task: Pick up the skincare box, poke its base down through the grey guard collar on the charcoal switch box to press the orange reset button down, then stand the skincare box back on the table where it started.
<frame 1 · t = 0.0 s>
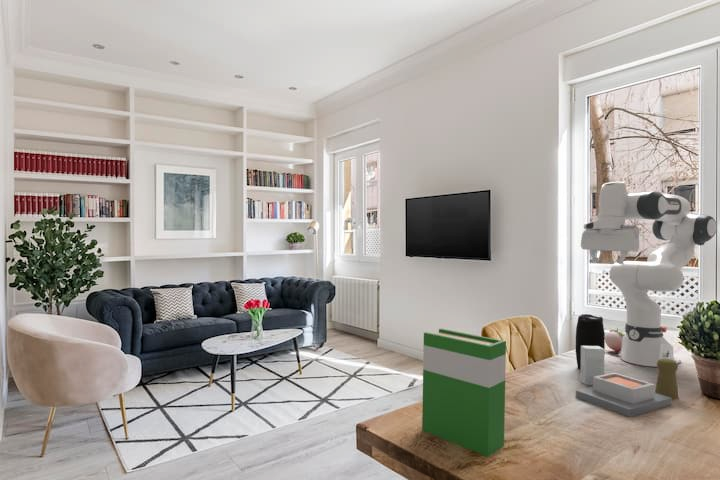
hand: (607, 263, 160), 39 cm above the table, tool pointing down, fingers open, 8 cm apart
cork: (666, 395, 134), on the table
switch box: (622, 400, 129), on the table
skincare box: (591, 383, 145), on the table
decorative fruit: (616, 352, 184), on the table
portable speaker: (589, 370, 159), on the table
hardback book: (461, 438, 104), on the table
reset button: (623, 385, 129), point 4 cm above the table, slide at 0.0 cm
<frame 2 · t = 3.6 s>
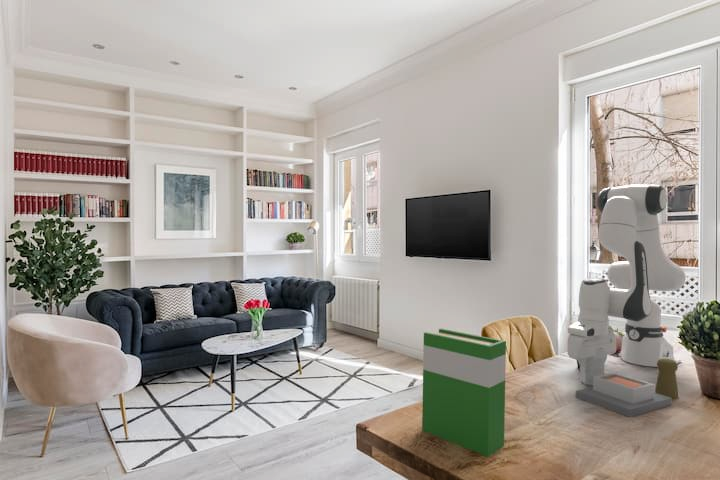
hand: (592, 369, 144), 5 cm above the table, tool pointing down, fingers closed on skincare box, 7 cm apart
skincare box: (591, 383, 145), on the table, touching gripper
everything else where it was.
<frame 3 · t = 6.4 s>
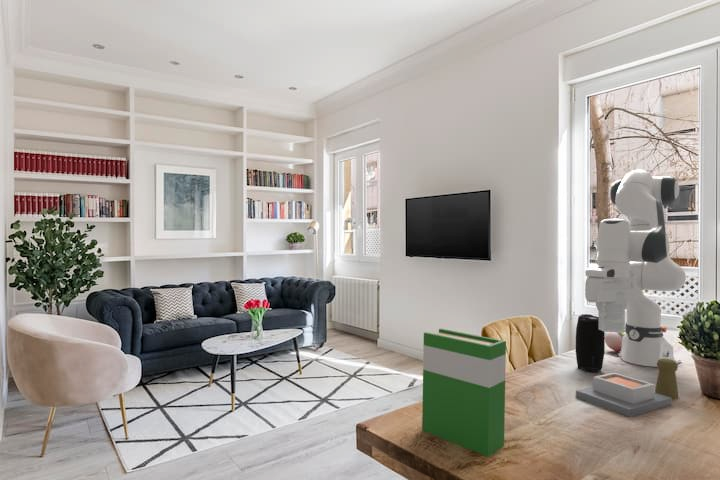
hand: (611, 316, 134), 24 cm above the table, tool pointing down, fingers closed on skincare box, 7 cm apart
skincare box: (610, 331, 134), point 19 cm above the table, touching gripper
everything else where it was.
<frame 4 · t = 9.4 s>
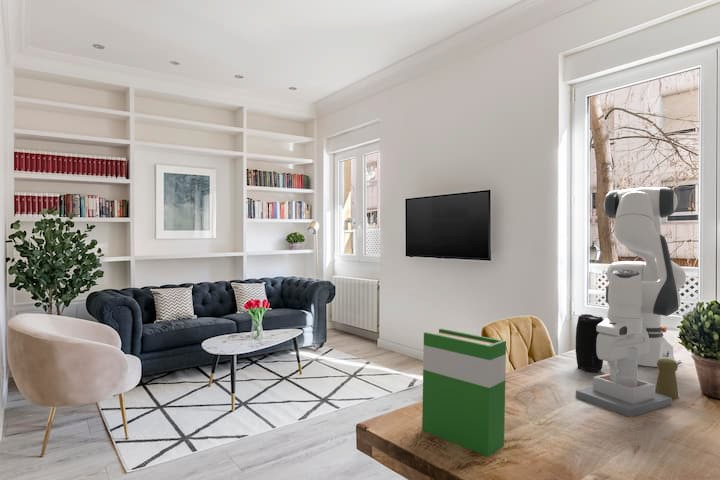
hand: (623, 372, 129), 8 cm above the table, tool pointing down, fingers closed on skincare box, 7 cm apart
skincare box: (622, 387, 129), point 4 cm above the table, touching gripper, reset button
reset button: (623, 390, 129), point 3 cm above the table, slide at 1.4 cm, touching skincare box
everything else where it was.
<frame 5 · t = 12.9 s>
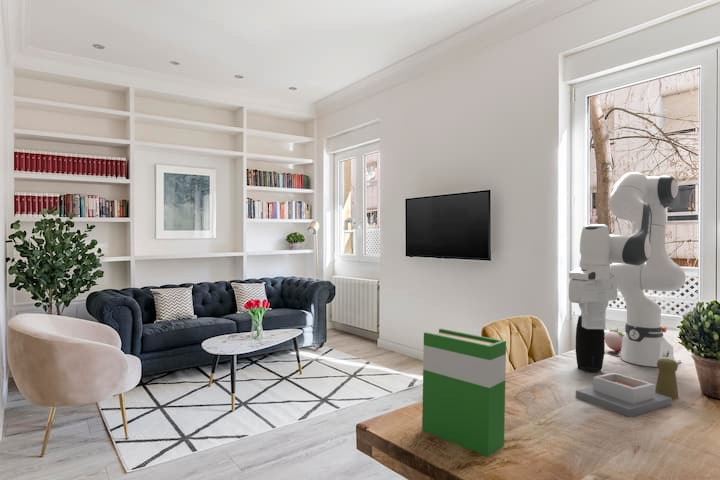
hand: (593, 315, 144), 22 cm above the table, tool pointing down, fingers closed on skincare box, 7 cm apart
skincare box: (592, 328, 144), point 18 cm above the table, touching gripper
reset button: (623, 390, 129), point 3 cm above the table, slide at 1.4 cm
everything else where it was.
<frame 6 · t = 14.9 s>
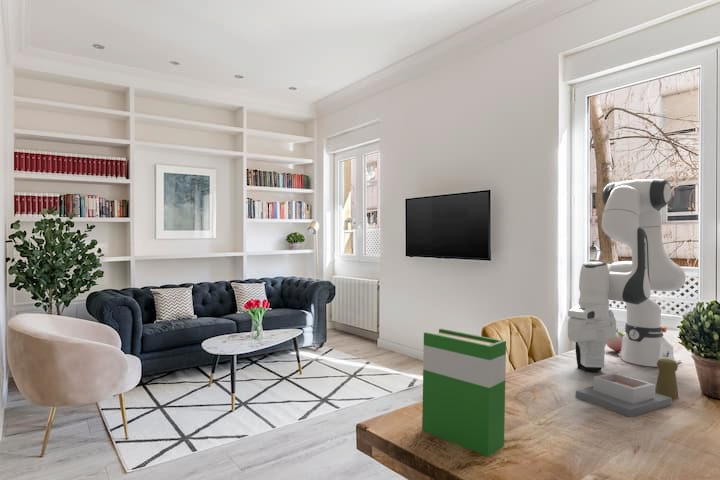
hand: (592, 353, 144), 10 cm above the table, tool pointing down, fingers closed on skincare box, 7 cm apart
skincare box: (591, 366, 144), point 6 cm above the table, touching gripper
everything else where it was.
when the fingers open (5 cm above the table, at t = 16.5 s): skincare box drops 1 cm, on the table.
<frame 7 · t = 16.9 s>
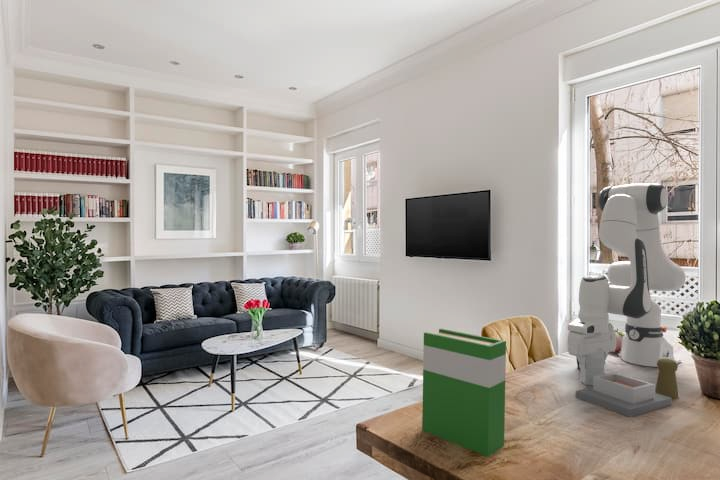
hand: (592, 366, 144), 5 cm above the table, tool pointing down, fingers open, 8 cm apart
skincare box: (591, 383, 145), on the table
everything else where it was.
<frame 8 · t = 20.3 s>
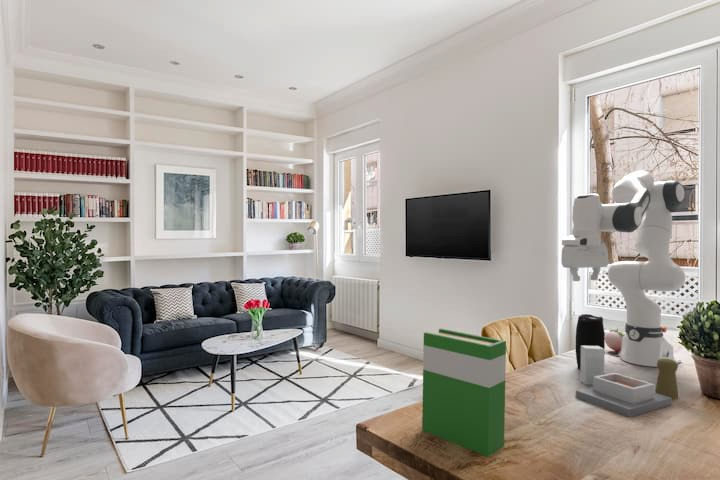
hand: (585, 280, 151), 33 cm above the table, tool pointing down, fingers open, 8 cm apart
nothing on the table moved.
at the end: reset button slide at 1.4 cm; skincare box inside the target area (0.1 cm from its centre), on the table; skincare box tilted 0° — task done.
